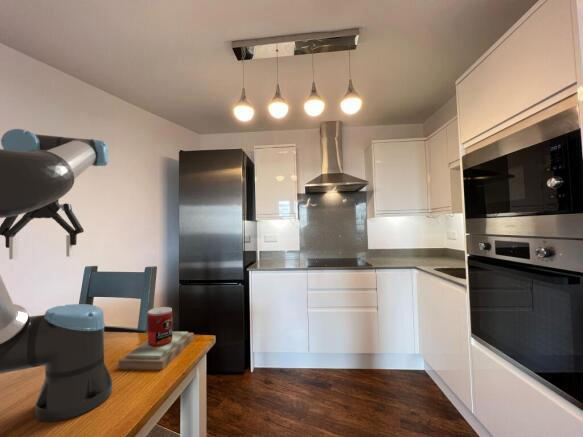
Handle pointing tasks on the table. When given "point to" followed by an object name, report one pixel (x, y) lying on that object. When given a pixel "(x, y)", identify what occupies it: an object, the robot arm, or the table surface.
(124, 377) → the table surface
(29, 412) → the table surface
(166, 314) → the canned food
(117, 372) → the table surface
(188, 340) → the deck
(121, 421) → the table surface
